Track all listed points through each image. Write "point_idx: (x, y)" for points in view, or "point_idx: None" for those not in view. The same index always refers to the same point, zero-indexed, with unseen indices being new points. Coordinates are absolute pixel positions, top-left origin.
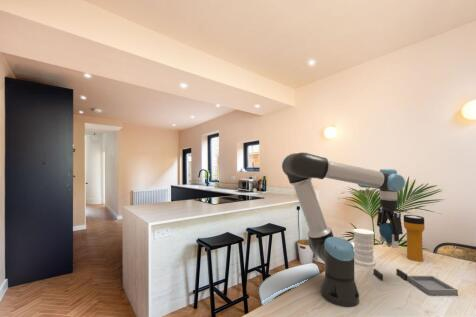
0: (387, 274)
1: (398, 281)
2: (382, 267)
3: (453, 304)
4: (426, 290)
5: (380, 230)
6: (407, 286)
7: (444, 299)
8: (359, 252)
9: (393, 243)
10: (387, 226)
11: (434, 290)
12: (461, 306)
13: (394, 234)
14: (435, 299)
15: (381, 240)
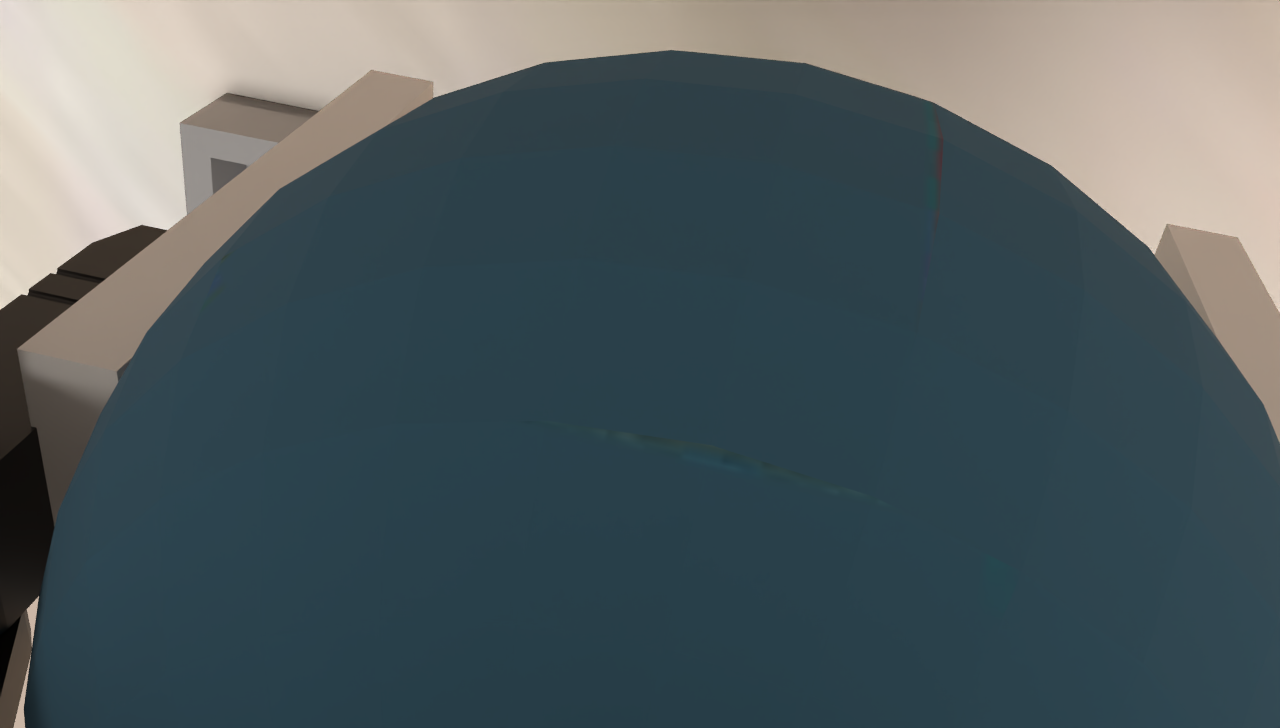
0: (965, 33)
1: (674, 6)
2: (1264, 200)
3: (49, 206)
4: (246, 121)
5: (831, 133)
6: (496, 11)
7: (152, 213)
8: None
9: (299, 150)
10: (176, 682)
11: (191, 203)
12: (19, 255)
13: (23, 411)
14: (140, 89)
15: (1168, 264)
